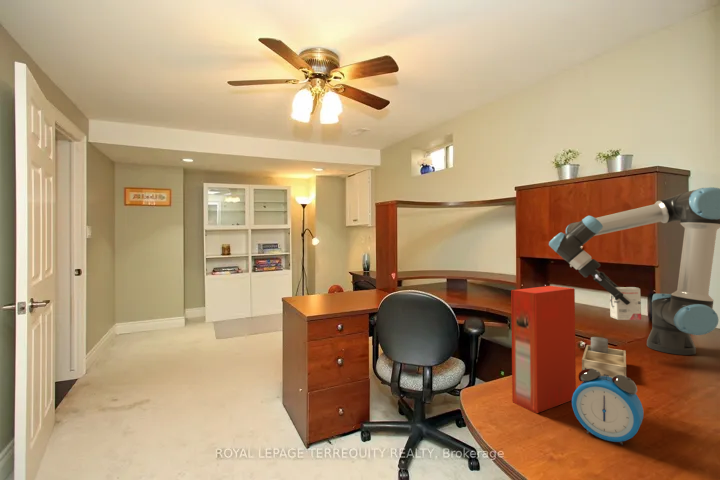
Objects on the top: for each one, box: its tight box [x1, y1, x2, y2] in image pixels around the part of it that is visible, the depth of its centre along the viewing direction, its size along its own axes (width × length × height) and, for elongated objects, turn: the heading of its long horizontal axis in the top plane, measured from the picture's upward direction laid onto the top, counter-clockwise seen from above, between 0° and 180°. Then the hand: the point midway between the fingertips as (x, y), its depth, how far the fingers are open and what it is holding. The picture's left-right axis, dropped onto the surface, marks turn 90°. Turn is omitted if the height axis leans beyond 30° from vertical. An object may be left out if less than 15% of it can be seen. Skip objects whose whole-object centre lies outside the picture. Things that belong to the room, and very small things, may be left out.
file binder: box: [510, 285, 577, 414], centre depth 100 cm, size 8×17×32 cm, turn 118°
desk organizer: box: [581, 336, 627, 378], centre depth 124 cm, size 12×20×9 cm, turn 143°
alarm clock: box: [571, 368, 644, 447], centre depth 82 cm, size 13×6×15 cm, turn 44°
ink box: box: [609, 286, 642, 321], centre depth 134 cm, size 9×5×12 cm, turn 84°
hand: (636, 308), depth 132 cm, fingers closed on ink box, 8 cm apart
